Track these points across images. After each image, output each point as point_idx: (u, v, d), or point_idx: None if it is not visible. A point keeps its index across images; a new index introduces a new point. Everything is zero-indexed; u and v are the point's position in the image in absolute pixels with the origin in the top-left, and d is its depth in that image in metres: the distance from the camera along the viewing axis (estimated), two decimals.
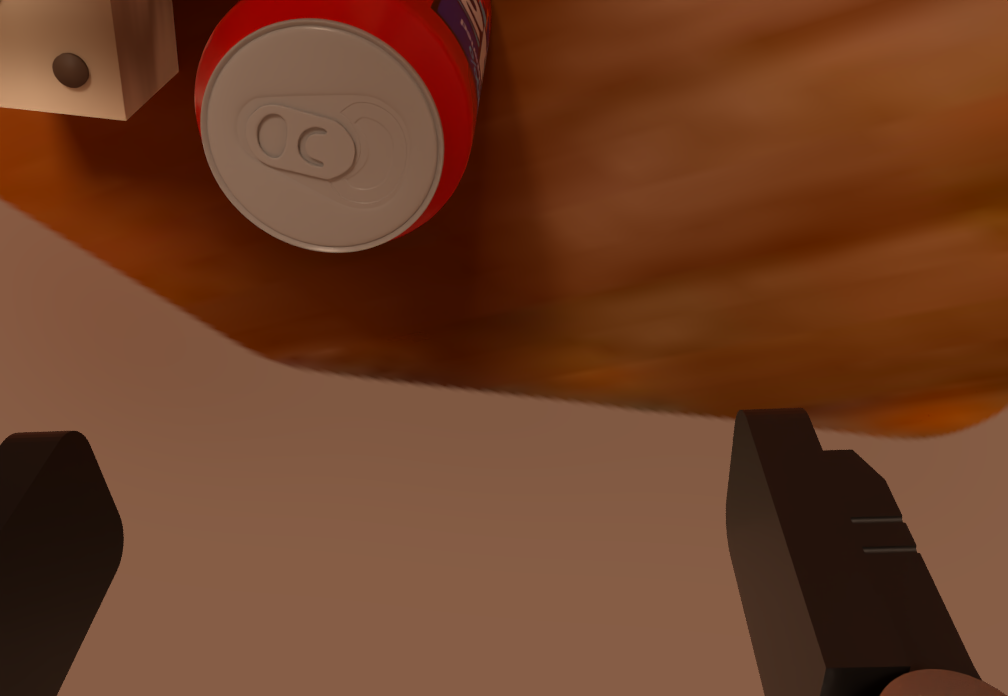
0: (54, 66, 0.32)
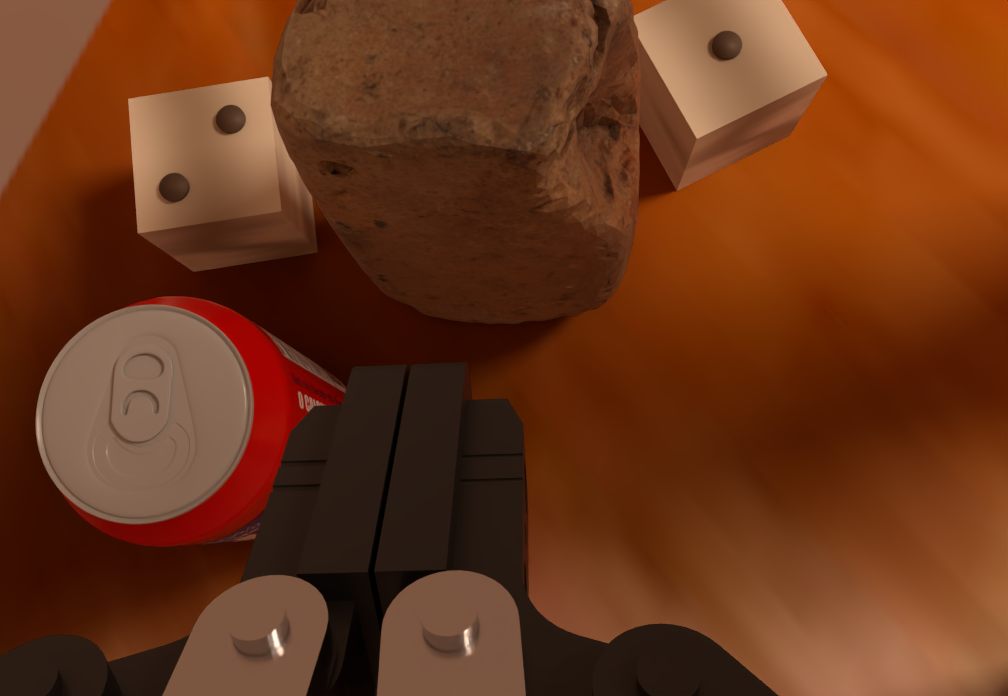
0: (175, 174, 0.37)
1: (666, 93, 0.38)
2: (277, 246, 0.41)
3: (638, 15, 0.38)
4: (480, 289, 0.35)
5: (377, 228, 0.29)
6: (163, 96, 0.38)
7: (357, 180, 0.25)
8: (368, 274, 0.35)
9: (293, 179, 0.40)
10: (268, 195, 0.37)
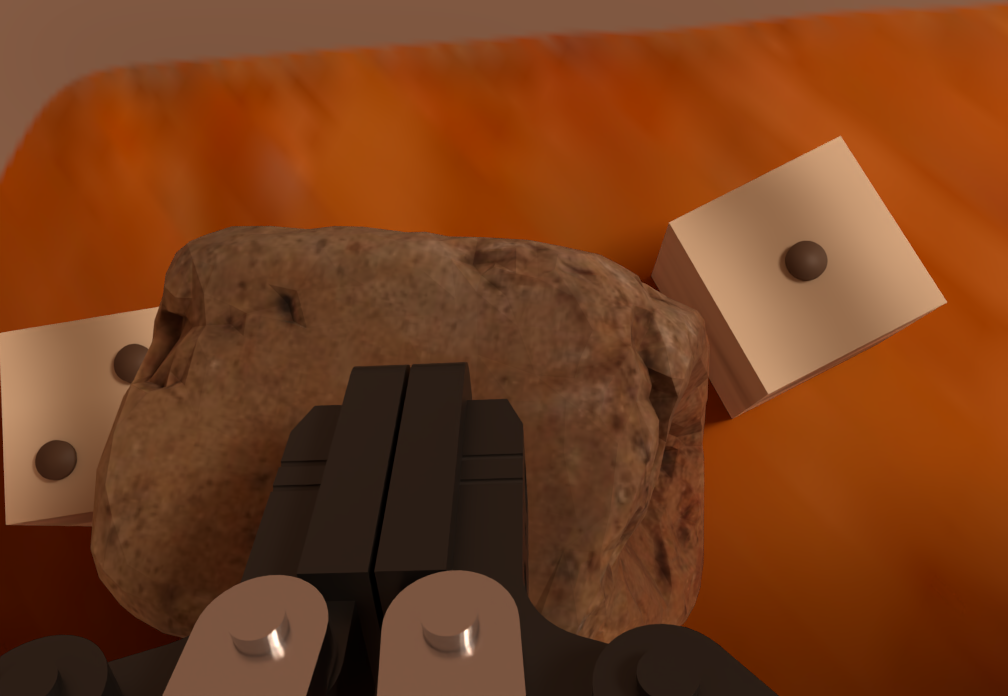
0: (57, 441, 0.28)
1: (722, 324, 0.28)
2: None
3: (683, 217, 0.28)
4: None
5: None
6: (45, 330, 0.28)
7: None
8: None
9: None
10: None
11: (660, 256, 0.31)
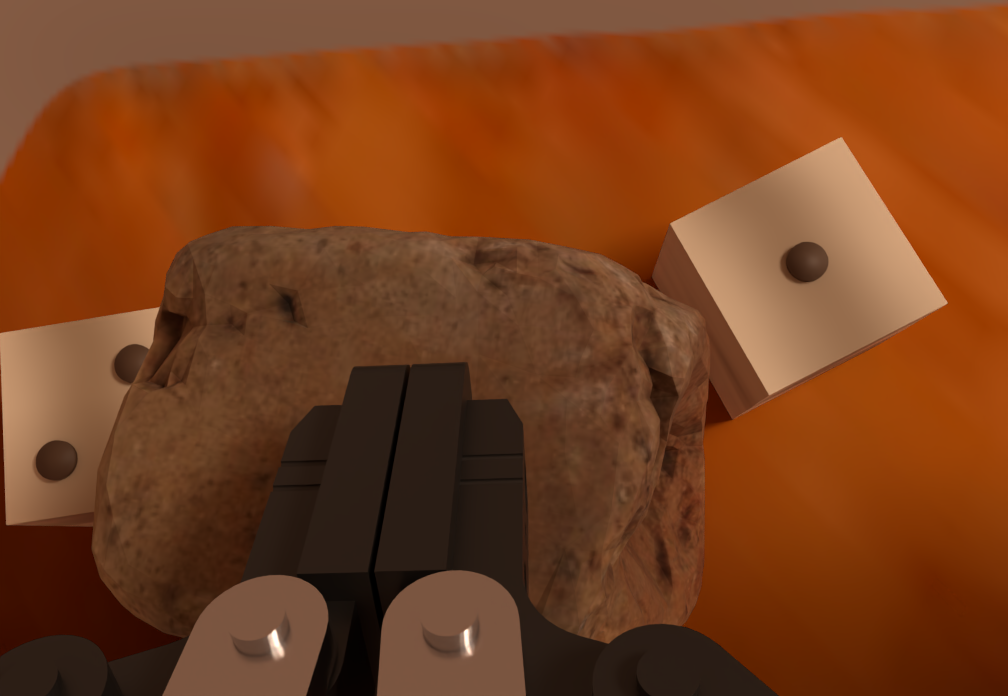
0: (58, 441, 0.28)
1: (723, 325, 0.28)
2: None
3: (684, 218, 0.28)
4: None
5: None
6: (46, 330, 0.28)
7: None
8: None
9: None
10: None
11: (661, 257, 0.31)
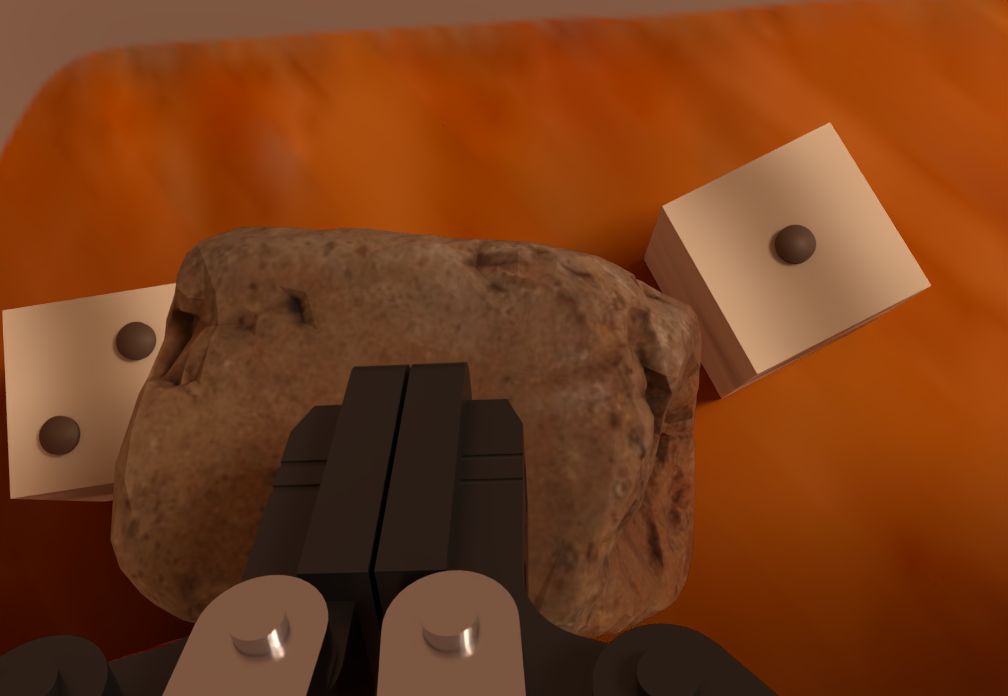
0: (61, 417, 0.28)
1: (713, 306, 0.28)
2: None
3: (676, 201, 0.28)
4: None
5: None
6: (48, 307, 0.29)
7: None
8: None
9: None
10: None
11: (653, 239, 0.31)
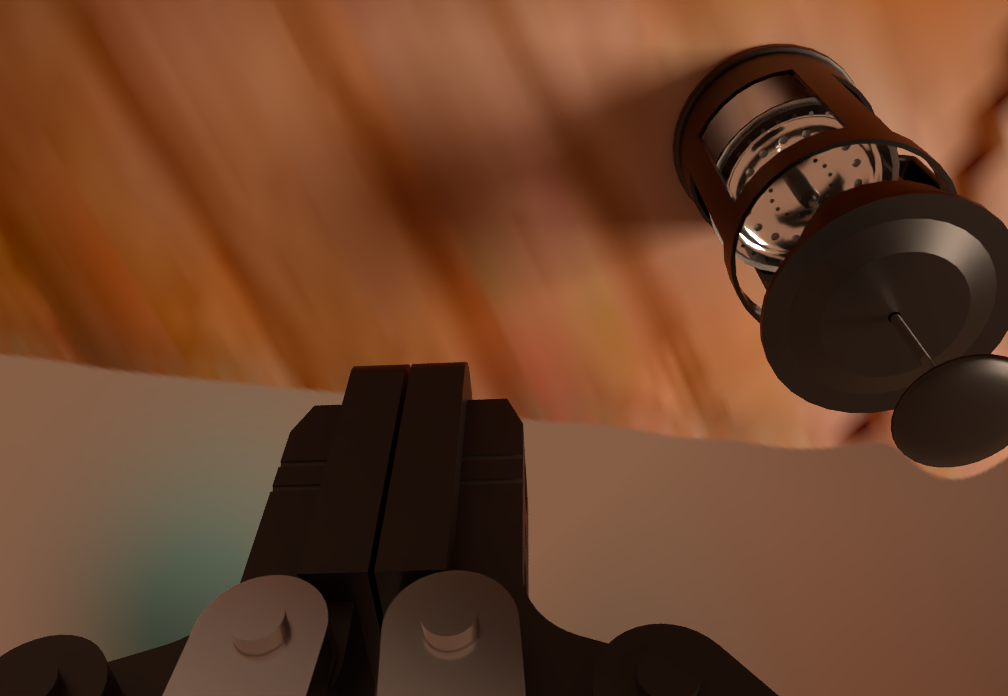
0: None
1: None
2: None
3: None
4: None
5: None
6: None
7: None
8: None
9: None
10: None
11: None
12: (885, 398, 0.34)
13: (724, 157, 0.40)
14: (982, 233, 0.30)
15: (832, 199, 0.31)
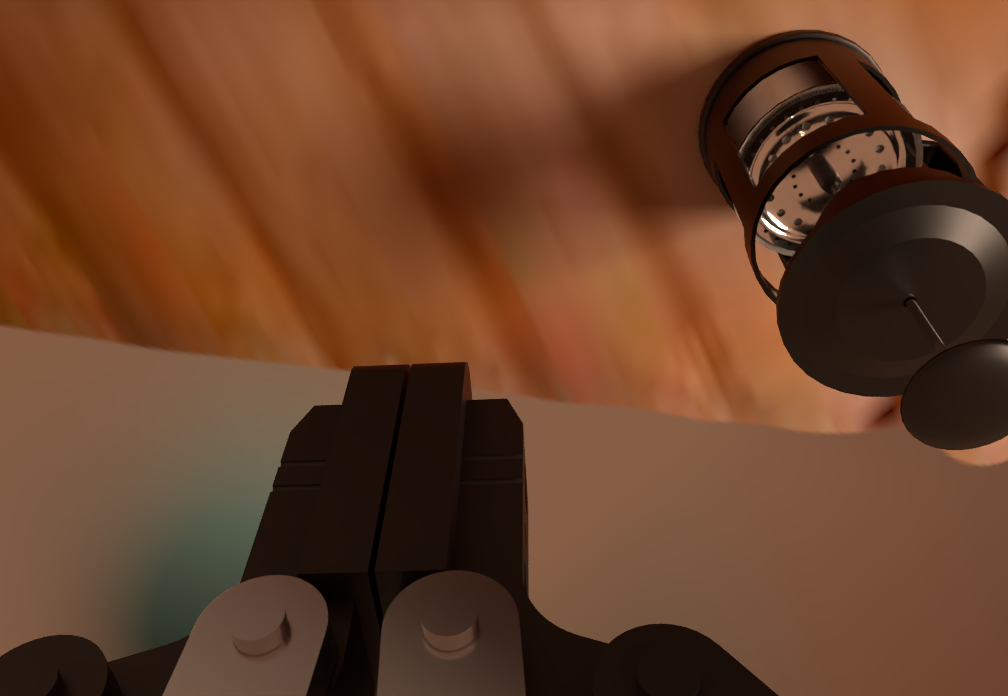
0: None
1: None
2: None
3: None
4: None
5: None
6: None
7: None
8: None
9: None
10: None
11: None
12: (901, 382, 0.34)
13: (747, 143, 0.40)
14: (998, 219, 0.30)
15: (849, 186, 0.32)
